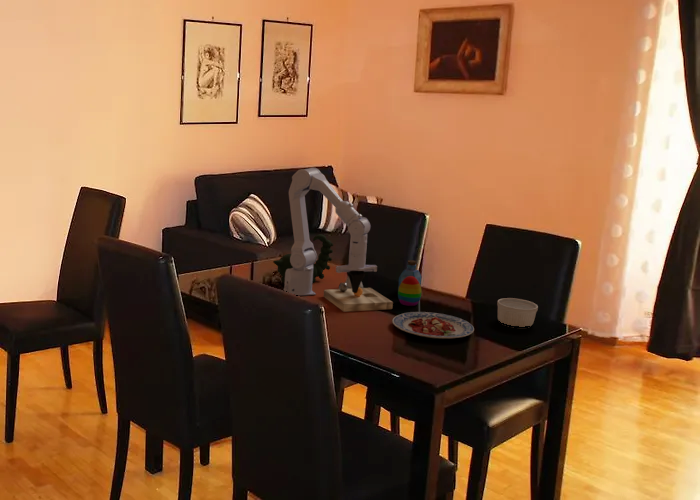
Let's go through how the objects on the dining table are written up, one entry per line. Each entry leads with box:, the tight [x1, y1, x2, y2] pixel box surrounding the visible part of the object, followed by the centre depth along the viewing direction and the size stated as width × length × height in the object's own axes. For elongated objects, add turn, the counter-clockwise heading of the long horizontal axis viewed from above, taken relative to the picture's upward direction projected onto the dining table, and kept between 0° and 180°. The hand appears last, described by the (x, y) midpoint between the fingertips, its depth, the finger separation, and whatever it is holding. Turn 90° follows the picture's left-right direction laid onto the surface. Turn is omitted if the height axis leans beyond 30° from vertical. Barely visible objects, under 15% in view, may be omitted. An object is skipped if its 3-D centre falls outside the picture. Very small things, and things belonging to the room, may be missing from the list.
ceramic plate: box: [391, 311, 475, 340], centre depth 254 cm, size 26×26×3 cm
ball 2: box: [353, 287, 363, 296], centre depth 277 cm, size 3×3×3 cm
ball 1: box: [338, 281, 348, 292], centre depth 281 cm, size 3×3×3 cm
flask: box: [344, 275, 364, 289], centre depth 297 cm, size 7×7×10 cm
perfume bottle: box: [397, 259, 422, 290], centre depth 295 cm, size 6×6×12 cm
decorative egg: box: [397, 276, 422, 307], centre depth 281 cm, size 8×8×10 cm
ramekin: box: [496, 297, 539, 327], centre depth 268 cm, size 13×13×7 cm
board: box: [322, 287, 394, 313], centre depth 278 cm, size 18×18×2 cm
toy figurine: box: [272, 233, 334, 284], centre depth 298 cm, size 9×19×25 cm
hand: (354, 292), depth 276 cm, fingers closed, pressing on ball 2
